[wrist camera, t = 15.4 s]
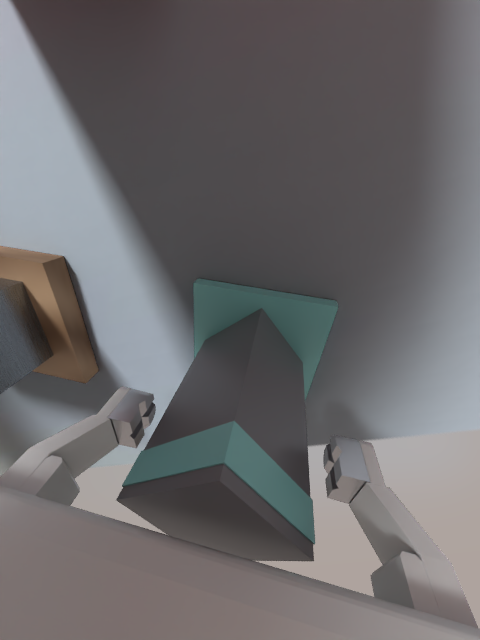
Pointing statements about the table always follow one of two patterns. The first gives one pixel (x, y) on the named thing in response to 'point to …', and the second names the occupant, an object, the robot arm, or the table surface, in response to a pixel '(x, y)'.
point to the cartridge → (232, 450)
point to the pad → (282, 308)
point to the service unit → (19, 334)
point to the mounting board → (53, 311)
